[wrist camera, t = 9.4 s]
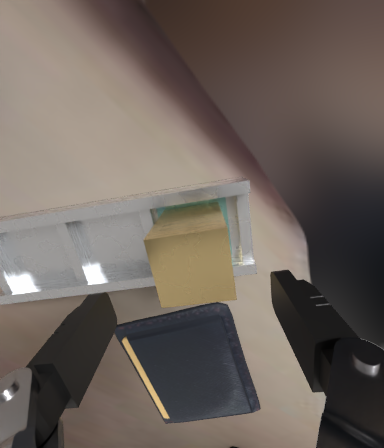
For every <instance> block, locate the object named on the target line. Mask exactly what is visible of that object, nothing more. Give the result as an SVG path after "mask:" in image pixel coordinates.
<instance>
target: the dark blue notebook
mask: <svg viewBox="0 0 384 448" xmlns="http://www.w3.org/2000/svg"><path fill="white" fill-rule="evenodd" d="M115 334H116V336H117V339H118V340H119V342H120V344H121V345H122V347H123V349H124V350H125V352H126V353H127V355H128V357H129V359H130V361H131V362H132V364H133V366H134V368H135V369H136V371H137V373H138V375H139V377H140V378H141V380H142V382H143V384H144V386H145V387H146V389H147V391H148V393H149V395H150V396H151V398H152V400H153V402H154V404H155V405H156V407H157V409H158V411H159V413H160V414H161V416H162V418H163V420H164V422H165V423H166V424H168V423H180V422H188V421H196V420H203V419H211V418H218V417H226V416H233V415H241V414H247V413H253V412H255V411H258V410H260V409H261V408H260V404H259V400H258V397H257V394H256V390H255V387H254V385H253V382H252V379H251V376H250V373H249V370H248V367H247V364H246V361H245V358H244V354H243V351H242V348H241V344H240V341H239V338H238V334H237V331H236V327H235V324H234V320H233V316H232V314H231V312H230V309H229V307H228V305H227V304H223V303H219V302H216V303H210V304H205V305H200V306H196V307H192V308H188V309H184V310H180V311H176V312H172V313H167V314H163V315H159V316H154V317H149V318H145V319H140V320H136V321H132V322H128V323H124V324H119V325H117V326H116V330H115Z"/></svg>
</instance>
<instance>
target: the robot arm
mask: <svg viewBox="0 0 384 448" xmlns="http://www.w3.org/2000/svg"><path fill="white" fill-rule="evenodd" d="M270 277H271V296H272V304H273V308H274V311H275V314H276V316H277V318H278V320H279V322H280V324H281V326H282V328H283V330H284V333H285V335H286V337H287V339H288V341H289V343H290V345H291V347H292V349H293V352H294V354H295V356H296V358H297V360H298V362H299V364H300V366H301V369H302V371H303V373H304V375H305V377H306V379H307V381H308V383H309V385H310V388H311V390H312V392H324V393H325V395H326V401H325V407H324V412H323V413H322V416H321V421H320V427H319V432H318V438H317V444H316V448H384V350H383V349H382V348H380V347H379V346H377V345H375V344H373V343H371V342H369V341H366V340H363V339H360V338H359V337H358V336H357V334H356V333H355V332H354V331H353V330H352V328H351V327H350V326H349V325H348V324H347V323H346V322H345V320H344V319H343V318H342V317H341V316H340V315H339V313H338V312H337V311H336V310H335V309H334V308H333V307H332V305H330V304H329V302H328V301H327V300H326V299H325V297H323V295H322V294H321V293H320V292H319V290H318V289H317V288H316V287H315V286H314V285H312V284H310V283H309V282H307V281H305V280H296V278H295V277H294V276H293V275H292V273H291V272H290V271H289V270H282V271H274V272H271V275H270ZM116 326H117V317H116V314H115V311H114V309H113V306H112V303H111V301H110V298H109V296H108V294H107V293H106V292H104V293H96V294H90V295H88V296H87V297H86V299H85V300H84V301H83V303H82V304H81V305H80V306H79V307H77V308H76V309H75V310H74V311H72V312H71V313H70V314H69V315H68V316H67V317H66V318H65V320H64V321H63V322H62V323H61V326H59V327H58V328H57V329H56V331H55V332H54V334H52V336H51V337H50V338H49V339H48V340H47V342H46V343H45V344H44V345H43V347H42V348H41V349H40V350H39V351H38V353H37V354H36V355H35V356H34V358H33V359H32V360H31V361H30V363H29V364H28V365H27V366H26V367H25V368H20V369H17V370H14V371H12V372H10V373H8V374H7V375H5V376H4V377H2V378H1V379H0V448H64V435H63V421H62V419H61V415H62V413H63V411H64V409H66V408H78V407H79V405H80V403H81V401H82V399H83V396H84V394H85V392H86V390H87V388H88V386H89V384H90V382H91V380H92V378H93V376H94V373H95V371H96V369H97V367H98V365H99V363H100V361H101V359H102V357H103V355H104V353H105V351H106V348H107V346H108V344H109V342H110V340H111V338H112V336H113V334H114V332H115V330H116Z"/></svg>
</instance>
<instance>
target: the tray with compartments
mask: <svg viewBox="0 0 384 448" xmlns="http://www.w3.org/2000/svg"><path fill="white" fill-rule="evenodd" d="M248 193H250V183H249V180H248V179H246V178H244V177H237V178H231V179H225V180H219V181H213V182H207V183H201V184H195V185H189V186H184V187H178V188H172V189H166V190H160V191H154V192H148V193H142V194H136V195H130V196H124V197H118V198H113V199H107V200H101V201H95V202H89V203H83V204H77V205H71V206H65V207H59V208H53V209H48V210H42V211H36V212H30V213H24V214H18V215H12V216H6V217H0V287H1V288H2V290H3V292H2V293H1V294H0V305H2V304H11V303H19V302H27V301H35V300H44V299H52V298H60V297H68V296H76V295H85V294H93V293H101V292H109V291H118V290H126V289H134V288H142V287H151V286H156V285H155V282H154V278H153V274H152V271H151V267H150V263H149V260H148V256H147V252H146V249H145V245H144V241H143V240H144V238H145V237H146V235H147V234H148V233H149V231H150V230H151V228H152V227H153V225H154V224H155V223H156V221H157V220H158V218H159V217H160V216H161V214H162V213H163V211H164V210H169V209H175V208H181V207H188V206H194V205H200V204H206V203H212V202H218V203H219V206H220V208H221V211H222V214H223V217H224V219H225V222H226V225H227V227H228V235H229V243H230V250H231V258H232V266H233V274H234V276H241V275H249V274H257V269H256V263H255V261H254V256H253V244H252V232H251V220H250V209H249V197H248Z"/></svg>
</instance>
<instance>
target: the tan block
mask: <svg viewBox="0 0 384 448" xmlns="http://www.w3.org/2000/svg"><path fill="white" fill-rule="evenodd" d="M143 241H144V245H145V249H146V252H147V256H148V260H149V263H150V267H151V271H152V274H153V278H154V282H155V285H156V289H157V293H158V296H159V300H160V304H161V307H162V308H167V307H176V306H185V305H194V304H203V303H212V302H221V301H229V300H237V298H236V290H235V282H234V274H233V266H232V258H231V250H230V243H229V235H228V227H227V225H226V222H225V219H224V217H223V214H222V211H221V208H220V206H219V203H218V202H212V203H206V204H200V205H194V206H188V207H181V208H175V209H169V210H164V211H163V213H162V214H161V216H160V217H159V218H158V220H157V221H156V223H155V224H154V225H153V227H152V228H151V230H150V231H149V233H148V234H147V235H146V237H145V238H144V240H143Z"/></svg>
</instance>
